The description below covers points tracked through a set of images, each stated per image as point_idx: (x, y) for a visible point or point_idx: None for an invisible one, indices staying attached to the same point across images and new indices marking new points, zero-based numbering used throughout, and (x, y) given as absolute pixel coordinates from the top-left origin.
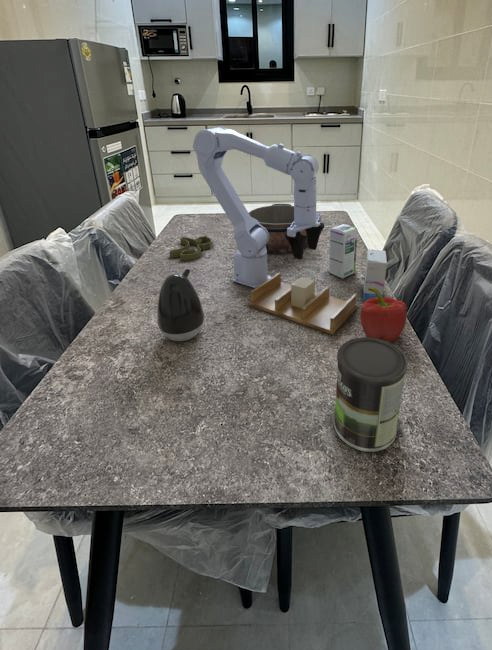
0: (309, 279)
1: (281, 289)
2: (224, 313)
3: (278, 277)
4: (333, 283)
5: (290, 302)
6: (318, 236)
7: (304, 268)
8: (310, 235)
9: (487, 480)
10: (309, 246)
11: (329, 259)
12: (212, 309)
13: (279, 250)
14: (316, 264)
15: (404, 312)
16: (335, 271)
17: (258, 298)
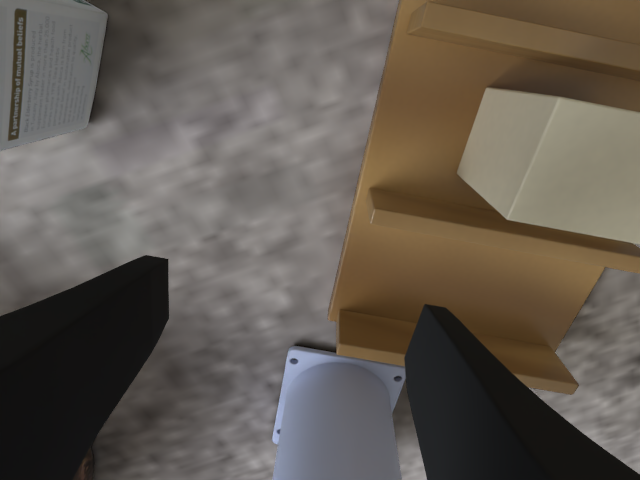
0: (548, 147)
1: (405, 285)
2: (612, 395)
3: (360, 336)
4: (197, 56)
5: None
6: (29, 332)
7: (122, 262)
8: (71, 428)
9: None
10: (158, 326)
11: (23, 142)
12: (587, 433)
13: None
14: (42, 222)
15: None
16: (81, 78)
17: (512, 339)
